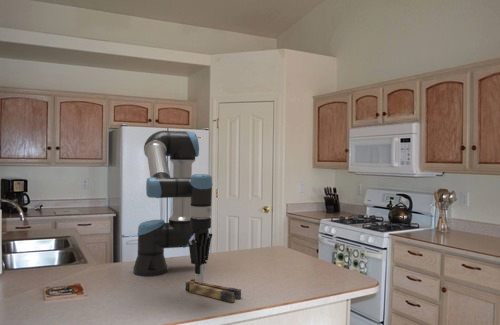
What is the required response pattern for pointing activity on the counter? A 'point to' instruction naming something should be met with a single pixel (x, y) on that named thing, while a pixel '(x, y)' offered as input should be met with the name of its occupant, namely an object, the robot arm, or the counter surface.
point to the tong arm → (211, 292)
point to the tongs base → (236, 291)
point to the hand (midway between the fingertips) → (199, 281)
